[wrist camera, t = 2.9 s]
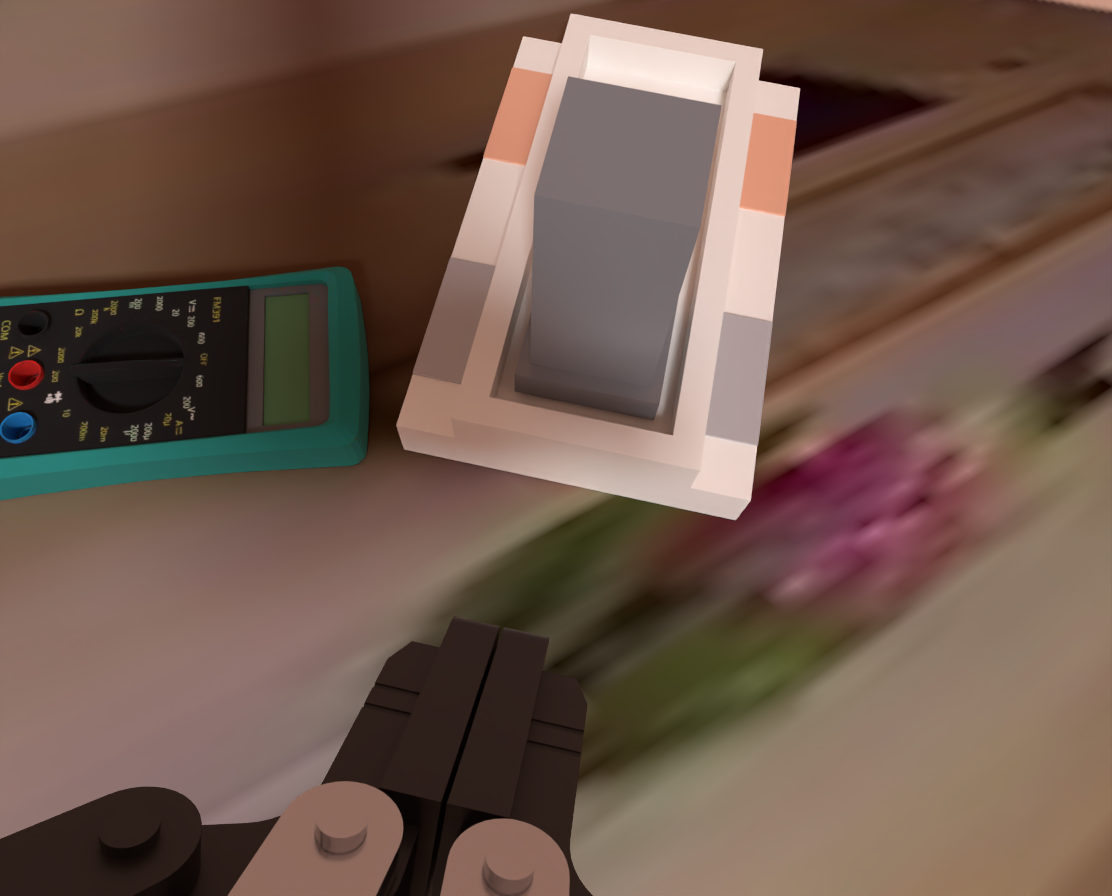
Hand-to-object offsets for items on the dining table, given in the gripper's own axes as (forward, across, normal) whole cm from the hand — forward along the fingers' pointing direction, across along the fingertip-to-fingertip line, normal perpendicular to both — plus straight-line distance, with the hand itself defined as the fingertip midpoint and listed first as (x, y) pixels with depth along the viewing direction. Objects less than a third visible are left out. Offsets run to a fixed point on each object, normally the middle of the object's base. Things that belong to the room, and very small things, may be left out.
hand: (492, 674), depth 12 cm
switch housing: (+23, 0, -3) cm, 23 cm away
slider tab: (+18, 0, -1) cm, 18 cm away
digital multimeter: (+17, +15, +4) cm, 23 cm away
